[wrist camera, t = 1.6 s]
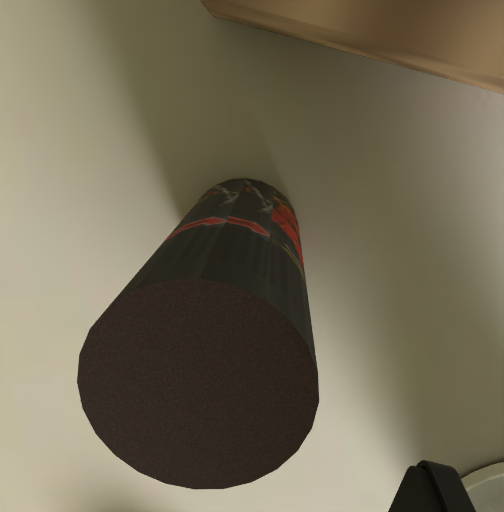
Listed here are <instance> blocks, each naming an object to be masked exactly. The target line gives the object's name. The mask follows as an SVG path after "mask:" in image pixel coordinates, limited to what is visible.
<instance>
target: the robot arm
mask: <svg viewBox="0 0 504 512" xmlns="http://www.w3.org/2000/svg"><path fill="white" fill-rule="evenodd" d="M388 512H504V462H501V463H497V464H493V465H490V466H487V467H485V468H482V469H479V470H477V471H474V472H472V473H471V474H469V475H467V476H465V477H463V478H462V479H460V477H459V475H458V473H457V471H456V470H455V469H454V468H453V467H451V466H446V465H442V464H438V463H434V462H430V461H426V460H422V461H420V462H419V463H418V464H417V466H410V467H409V468H408V469H407V471H406V473H405V475H404V478H403V480H402V482H401V484H400V487H399V489H398V491H397V493H396V496H395V498H394V500H393V502H392V505H391V507H390V509H389V511H388Z"/></svg>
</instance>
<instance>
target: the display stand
mask: <svg viewBox="0 0 504 512" xmlns="http://www.w3.org/2000/svg"><path fill="white" fill-rule="evenodd" d="M200 1H201V2H202V3H203V5H204V6H205V7H206V8H207V10H208V11H209V12H210V13H211V15H212V16H216V17H220V18H223V19H227V20H231V21H235V22H238V23H242V24H246V25H250V26H253V27H257V28H261V29H265V30H268V31H272V32H276V33H279V34H283V35H287V36H291V37H294V38H298V39H302V40H306V41H309V42H313V43H317V44H321V45H324V46H328V47H332V48H336V49H339V50H343V51H347V52H350V53H354V54H358V55H362V56H365V57H369V58H373V59H377V60H380V61H384V62H388V63H392V64H395V65H399V66H403V67H406V68H410V69H414V70H418V71H421V72H425V73H429V74H433V75H436V76H440V77H444V78H448V79H451V80H455V81H459V82H462V83H466V84H470V85H474V86H477V87H481V88H485V89H489V90H492V91H496V92H500V93H504V0H200Z"/></svg>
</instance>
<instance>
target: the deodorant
mask: <svg viewBox="0 0 504 512" xmlns="http://www.w3.org/2000/svg"><path fill="white" fill-rule="evenodd" d="M77 384H78V388H79V393H80V398H81V403H82V407H83V410H84V412H85V414H86V416H87V418H88V420H89V422H90V424H91V425H92V427H93V429H94V431H95V433H96V434H97V436H98V437H99V438H100V439H101V440H102V441H103V442H104V444H105V445H106V446H107V447H108V448H109V449H110V450H111V451H112V452H113V454H114V455H116V456H117V457H118V458H120V459H121V460H123V461H124V462H125V463H127V464H128V465H130V466H131V467H132V468H134V469H135V470H136V471H138V472H140V473H142V474H144V475H147V476H149V477H151V478H154V479H156V480H158V481H161V482H163V483H166V484H170V485H175V486H180V487H186V488H191V489H225V488H229V487H234V486H238V485H242V484H246V483H250V482H253V481H255V480H257V479H259V478H261V477H263V476H265V475H267V474H269V473H271V472H272V471H274V470H276V469H278V468H279V467H280V466H281V465H282V464H283V463H284V462H286V461H287V460H288V459H289V458H290V457H291V456H292V455H294V454H295V453H296V452H297V451H298V449H299V448H300V446H301V445H302V443H303V441H304V440H305V438H306V437H307V435H308V434H309V432H310V430H311V429H312V426H313V422H314V419H315V415H316V411H317V407H318V404H319V389H318V370H317V363H316V355H315V348H314V340H313V333H312V325H311V318H310V310H309V303H308V295H307V287H306V280H305V272H304V265H303V257H302V250H301V242H300V235H299V227H298V222H297V219H296V216H295V213H294V210H293V208H292V207H291V205H290V204H289V202H288V201H287V199H286V198H285V197H284V196H283V195H282V194H281V193H280V192H278V191H277V190H276V189H275V188H273V187H271V186H269V185H267V184H265V183H263V182H261V181H257V180H251V179H232V180H229V181H226V182H223V183H220V184H218V185H216V186H215V187H213V188H212V189H210V190H209V191H207V192H206V193H205V194H204V195H203V197H202V198H201V199H200V200H199V201H198V202H197V204H196V205H195V206H194V207H193V208H192V209H191V211H190V212H189V213H188V214H187V215H186V216H185V218H184V219H183V220H182V221H181V222H180V224H179V225H178V226H177V227H176V228H175V229H174V231H173V232H172V233H171V234H170V235H169V236H168V238H167V239H166V240H165V241H164V242H163V243H162V245H161V246H160V247H159V248H158V249H157V251H156V252H155V253H154V254H153V255H152V256H151V258H150V259H149V260H148V261H147V262H146V263H145V265H144V266H143V267H142V268H141V269H140V270H139V272H138V273H137V274H136V275H135V276H134V278H133V279H132V280H131V281H130V282H129V283H128V285H127V286H126V287H125V288H124V289H123V290H122V292H121V293H120V294H119V295H118V296H117V297H116V299H115V300H114V301H113V302H112V303H111V305H110V306H109V307H108V308H107V309H106V310H105V312H104V313H103V314H102V315H101V316H100V318H99V319H98V320H97V321H96V322H95V324H94V325H93V326H92V327H91V328H90V330H89V333H88V335H87V337H86V340H85V342H84V345H83V347H82V350H81V352H80V354H79V366H78V378H77Z"/></svg>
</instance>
